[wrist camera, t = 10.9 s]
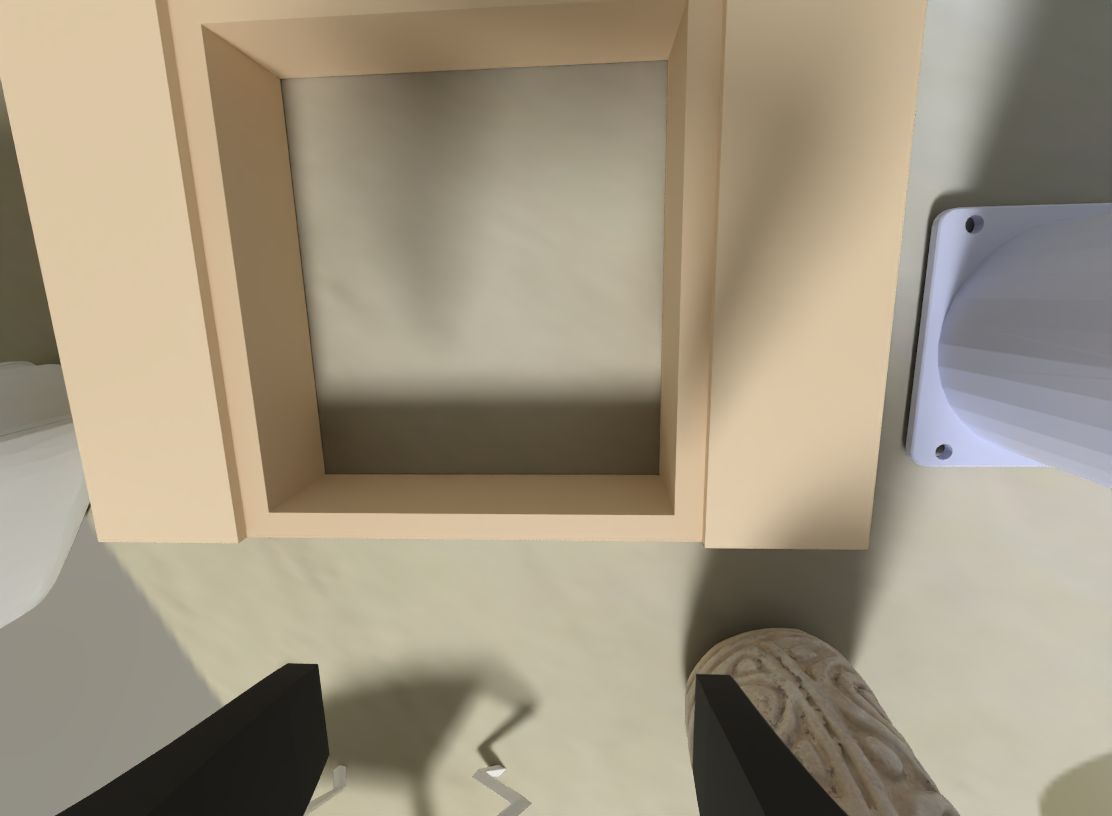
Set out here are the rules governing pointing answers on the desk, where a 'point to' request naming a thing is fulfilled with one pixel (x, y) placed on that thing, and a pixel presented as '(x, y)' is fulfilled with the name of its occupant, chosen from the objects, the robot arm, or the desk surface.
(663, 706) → the desk surface
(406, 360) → the desk surface
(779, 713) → the carving
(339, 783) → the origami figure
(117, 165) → the carton
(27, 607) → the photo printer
